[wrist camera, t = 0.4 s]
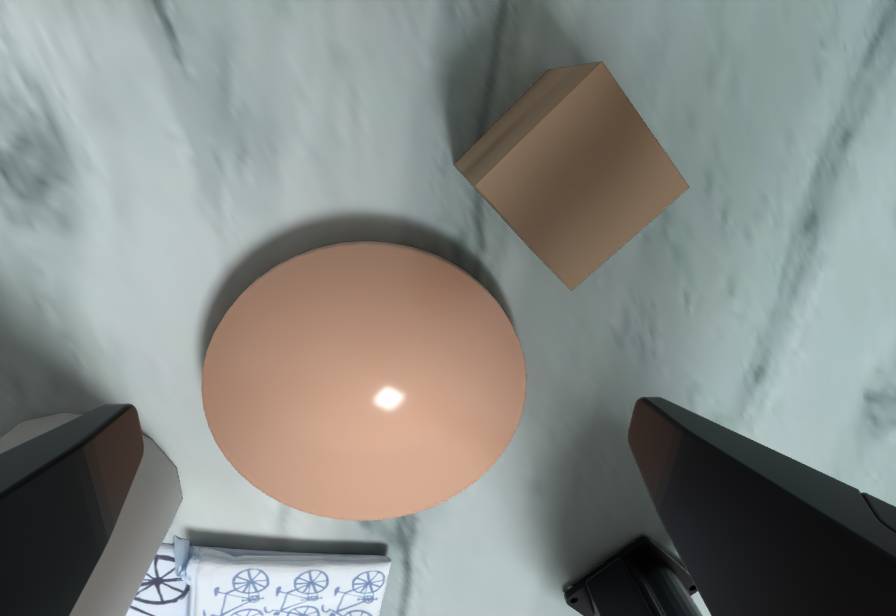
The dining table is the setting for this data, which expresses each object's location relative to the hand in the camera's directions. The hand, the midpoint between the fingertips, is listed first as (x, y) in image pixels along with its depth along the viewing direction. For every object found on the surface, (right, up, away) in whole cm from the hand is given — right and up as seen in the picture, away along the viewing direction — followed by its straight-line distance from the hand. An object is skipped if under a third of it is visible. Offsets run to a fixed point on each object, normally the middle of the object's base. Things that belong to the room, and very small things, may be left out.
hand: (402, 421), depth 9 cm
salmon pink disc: (-3, -1, +14) cm, 14 cm away
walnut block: (+5, +8, +11) cm, 14 cm away
